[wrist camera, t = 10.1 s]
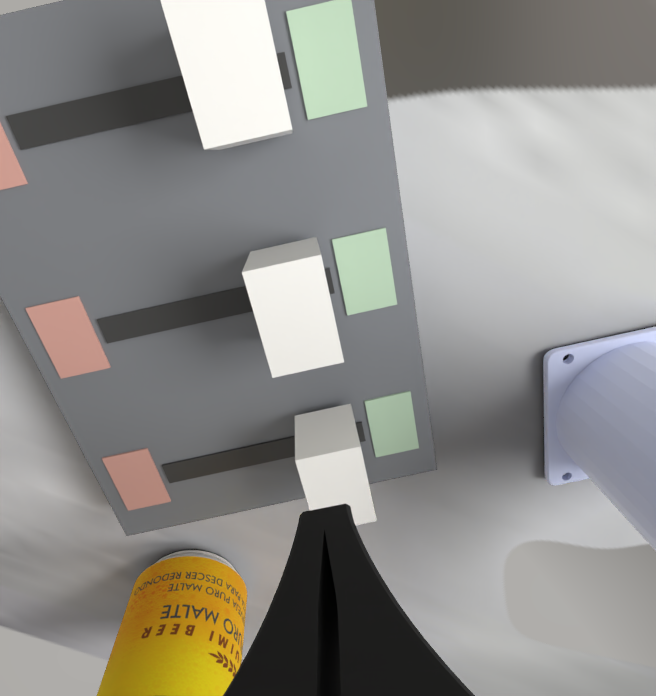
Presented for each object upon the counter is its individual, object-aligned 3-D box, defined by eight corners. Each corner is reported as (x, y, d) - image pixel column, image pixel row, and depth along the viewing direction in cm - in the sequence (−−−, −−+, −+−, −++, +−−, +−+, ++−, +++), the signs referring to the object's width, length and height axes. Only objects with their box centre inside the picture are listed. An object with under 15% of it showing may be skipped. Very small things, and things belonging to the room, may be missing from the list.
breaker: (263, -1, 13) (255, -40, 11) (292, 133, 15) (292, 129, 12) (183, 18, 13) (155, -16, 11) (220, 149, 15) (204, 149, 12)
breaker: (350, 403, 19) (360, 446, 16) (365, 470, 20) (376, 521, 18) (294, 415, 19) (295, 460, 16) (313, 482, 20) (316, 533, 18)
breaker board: (355, -44, 15) (364, -72, 13) (425, 444, 23) (437, 470, 21) (-81, 58, 15) (-135, 45, 13) (139, 505, 23) (125, 537, 21)
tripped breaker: (316, 236, 16) (321, 254, 13) (336, 329, 18) (344, 362, 15) (250, 251, 16) (241, 272, 13) (275, 342, 18) (272, 377, 15)
